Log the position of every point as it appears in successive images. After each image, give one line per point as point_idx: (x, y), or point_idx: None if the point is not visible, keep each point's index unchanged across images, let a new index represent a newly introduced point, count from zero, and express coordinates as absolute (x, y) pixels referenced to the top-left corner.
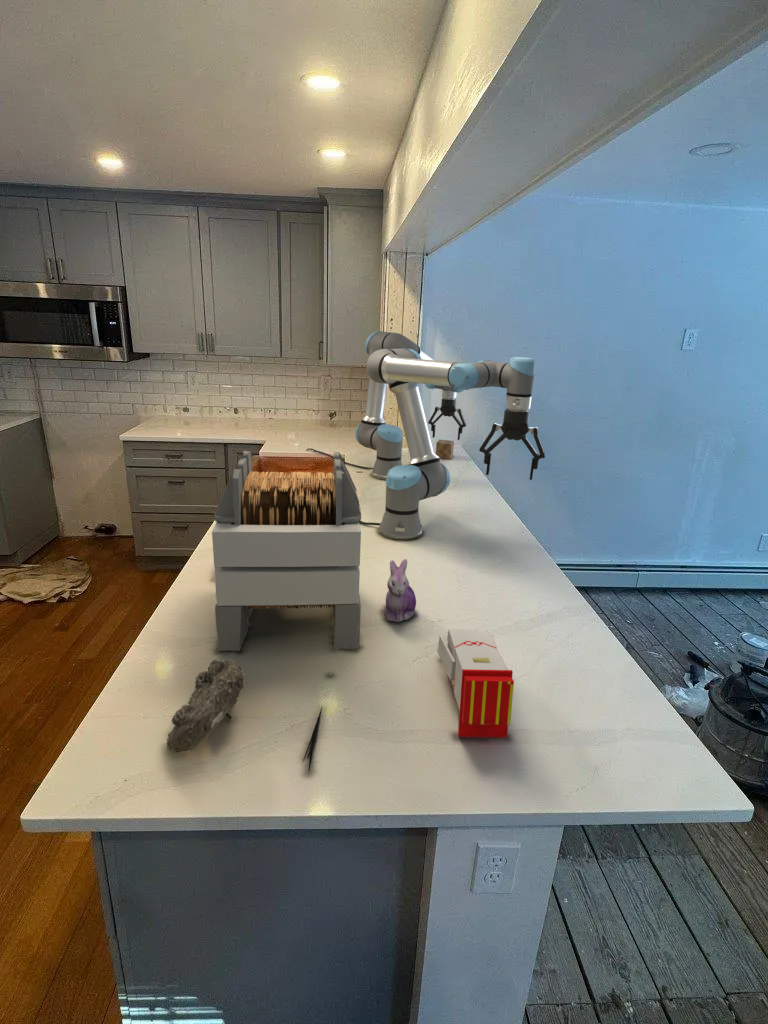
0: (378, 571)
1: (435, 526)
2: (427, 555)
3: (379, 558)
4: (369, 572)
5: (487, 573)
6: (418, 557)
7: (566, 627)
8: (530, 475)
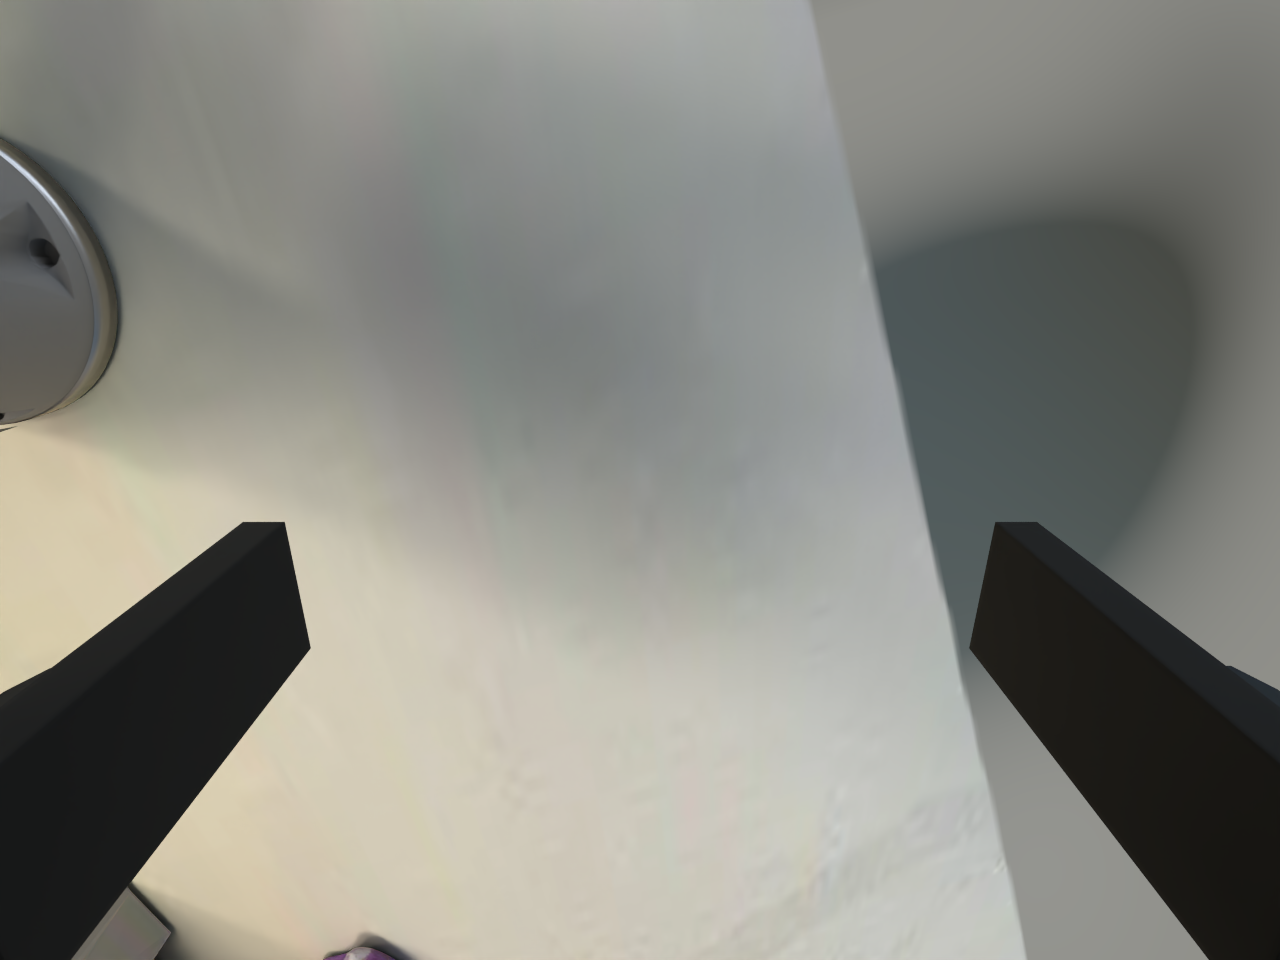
0: None
1: (118, 42)
2: None
3: None
4: None
5: (605, 642)
6: None
7: (900, 911)
8: (1012, 695)
